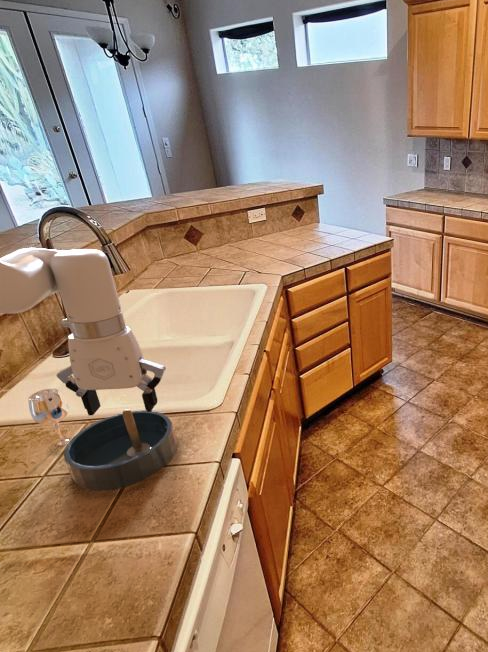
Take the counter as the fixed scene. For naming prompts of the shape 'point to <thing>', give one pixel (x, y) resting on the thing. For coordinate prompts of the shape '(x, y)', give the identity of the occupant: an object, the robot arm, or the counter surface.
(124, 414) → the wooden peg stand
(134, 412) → the bowl
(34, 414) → the wineglass
